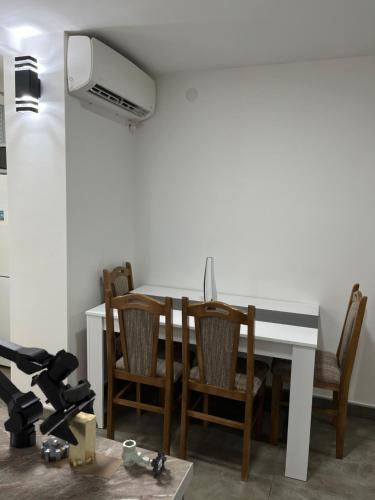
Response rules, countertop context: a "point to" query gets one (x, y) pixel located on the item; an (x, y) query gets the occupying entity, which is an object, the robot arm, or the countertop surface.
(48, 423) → the robot arm
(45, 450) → the sun gear
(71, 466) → the carrier board
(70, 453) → the gold tall block
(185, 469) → the countertop surface
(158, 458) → the valve
